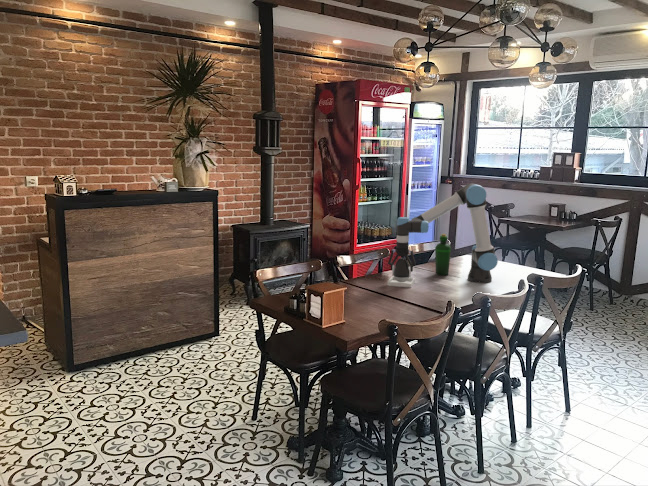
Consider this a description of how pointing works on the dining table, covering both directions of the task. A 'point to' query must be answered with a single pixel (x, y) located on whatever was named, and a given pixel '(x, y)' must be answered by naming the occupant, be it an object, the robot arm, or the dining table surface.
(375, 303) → the dining table surface
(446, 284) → the dining table surface
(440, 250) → the bottle
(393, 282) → the tray
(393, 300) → the dining table surface
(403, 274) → the egg shaped speaker
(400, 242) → the robot arm
